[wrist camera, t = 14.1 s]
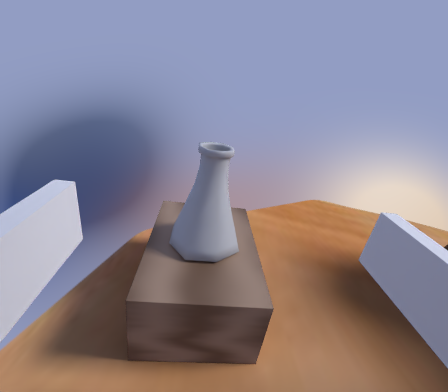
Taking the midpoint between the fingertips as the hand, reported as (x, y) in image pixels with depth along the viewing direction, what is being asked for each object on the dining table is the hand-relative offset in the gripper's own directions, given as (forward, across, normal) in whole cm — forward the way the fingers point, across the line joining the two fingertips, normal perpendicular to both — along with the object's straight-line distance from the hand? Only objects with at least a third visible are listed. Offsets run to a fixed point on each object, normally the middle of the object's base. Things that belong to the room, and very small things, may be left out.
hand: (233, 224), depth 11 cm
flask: (+12, -1, -10) cm, 15 cm away
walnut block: (+12, -1, -16) cm, 20 cm away
